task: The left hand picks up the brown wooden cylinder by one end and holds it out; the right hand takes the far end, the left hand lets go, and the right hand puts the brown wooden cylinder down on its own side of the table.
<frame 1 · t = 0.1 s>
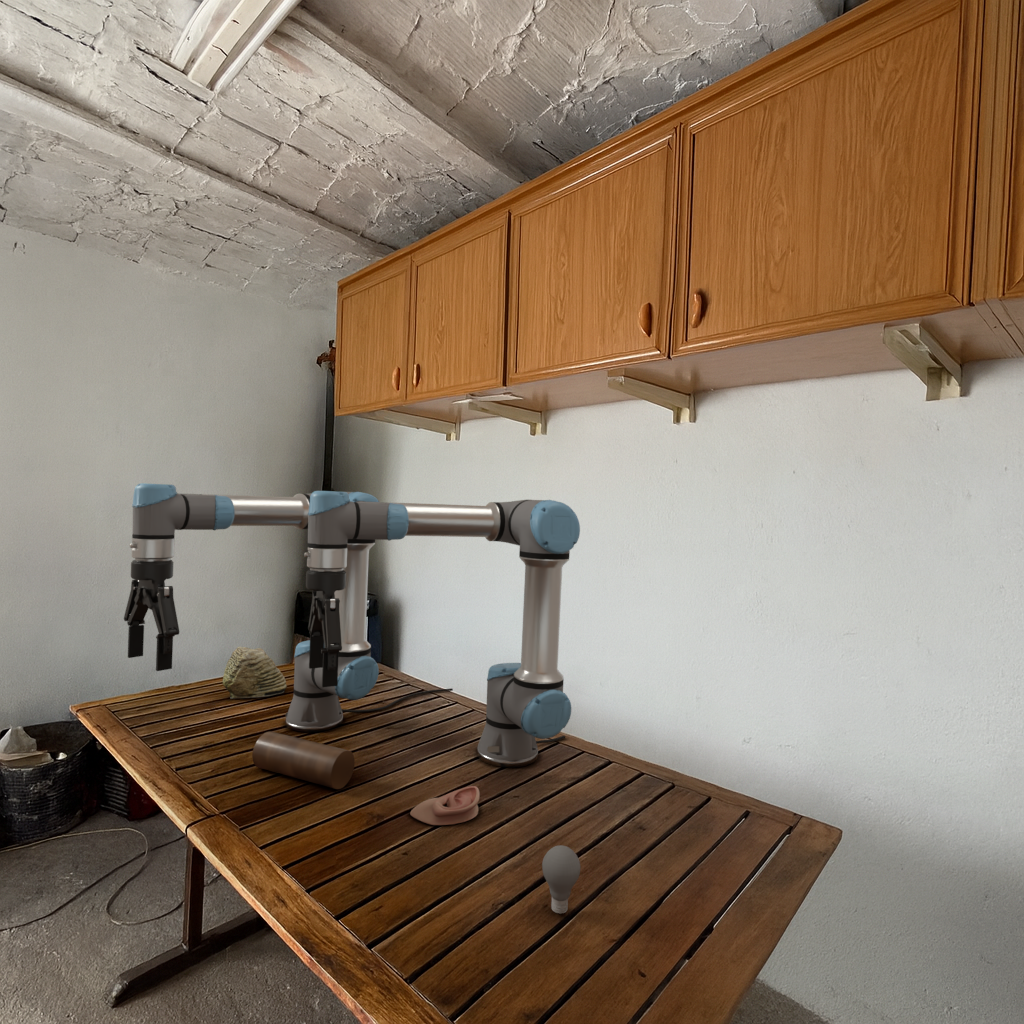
left hand: (149, 663, 129), 28 cm above the table, tool pointing down, fingers open, 13 cm apart
right hand: (322, 676, 125), 28 cm above the table, tool pointing down, fingers open, 13 cm apart
light bulb: (559, 912, 100), on the table
brown wooden cylinder: (302, 777, 143), on the table
fossil: (254, 694, 198), on the table
anatomical model: (445, 813, 129), on the table
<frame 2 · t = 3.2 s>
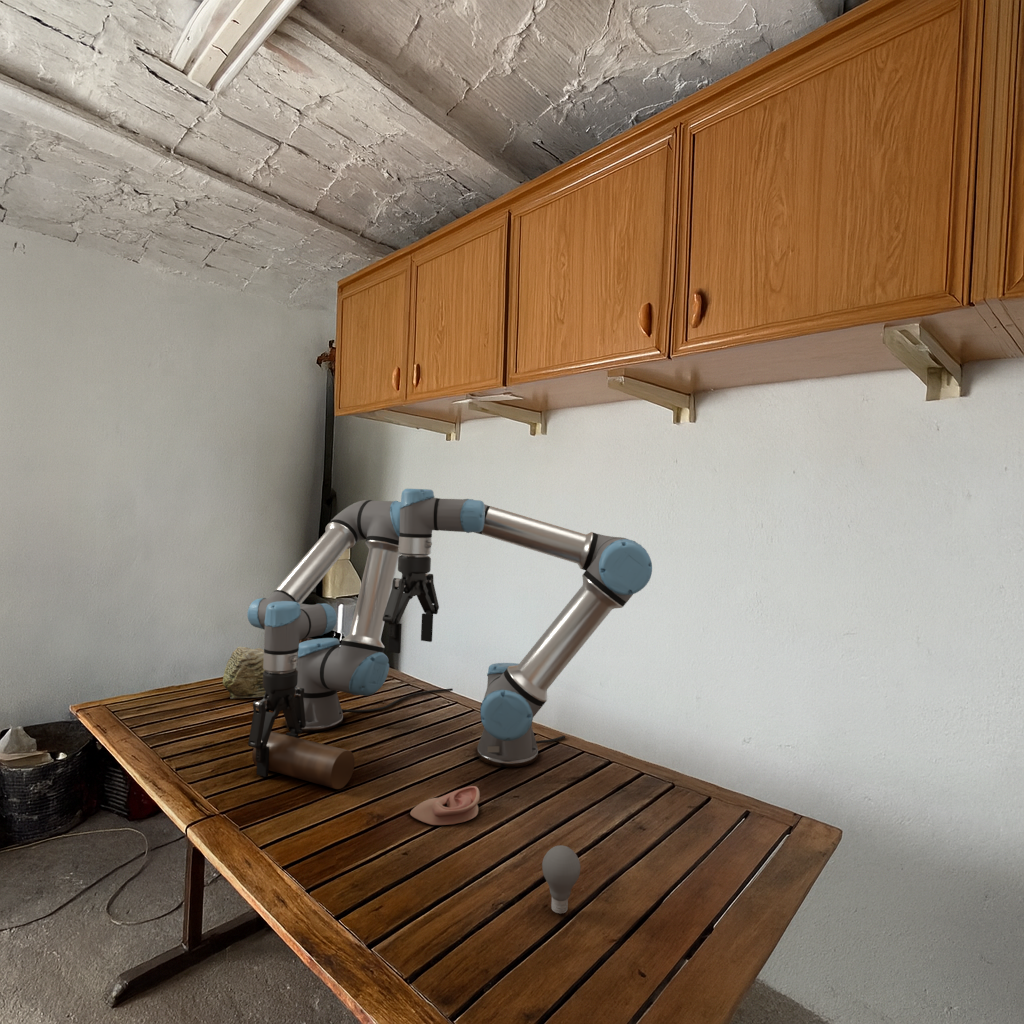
left hand: (276, 767, 146), 0 cm above the table, tool pointing down, fingers closed on brown wooden cylinder, 8 cm apart
right hand: (411, 646, 147), 29 cm above the table, tool pointing down, fingers open, 13 cm apart
brown wooden cylinder: (302, 777, 143), on the table, touching left hand
everything else where it was.
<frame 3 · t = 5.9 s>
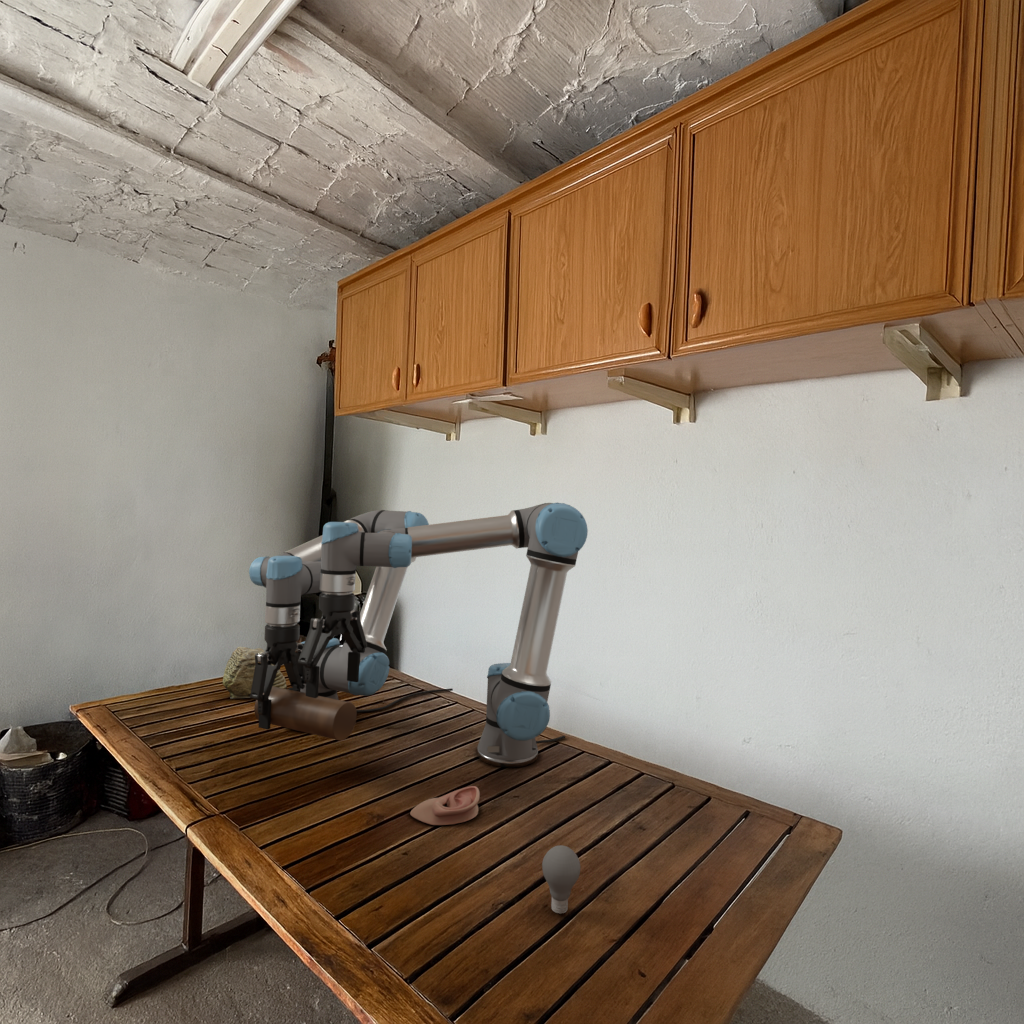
left hand: (278, 721, 146), 11 cm above the table, tool pointing down, fingers closed on brown wooden cylinder, 8 cm apart
right hand: (333, 688, 139), 21 cm above the table, tool pointing down, fingers open, 13 cm apart
brown wooden cylinder: (304, 730, 143), point 11 cm above the table, touching left hand
everything else where it was.
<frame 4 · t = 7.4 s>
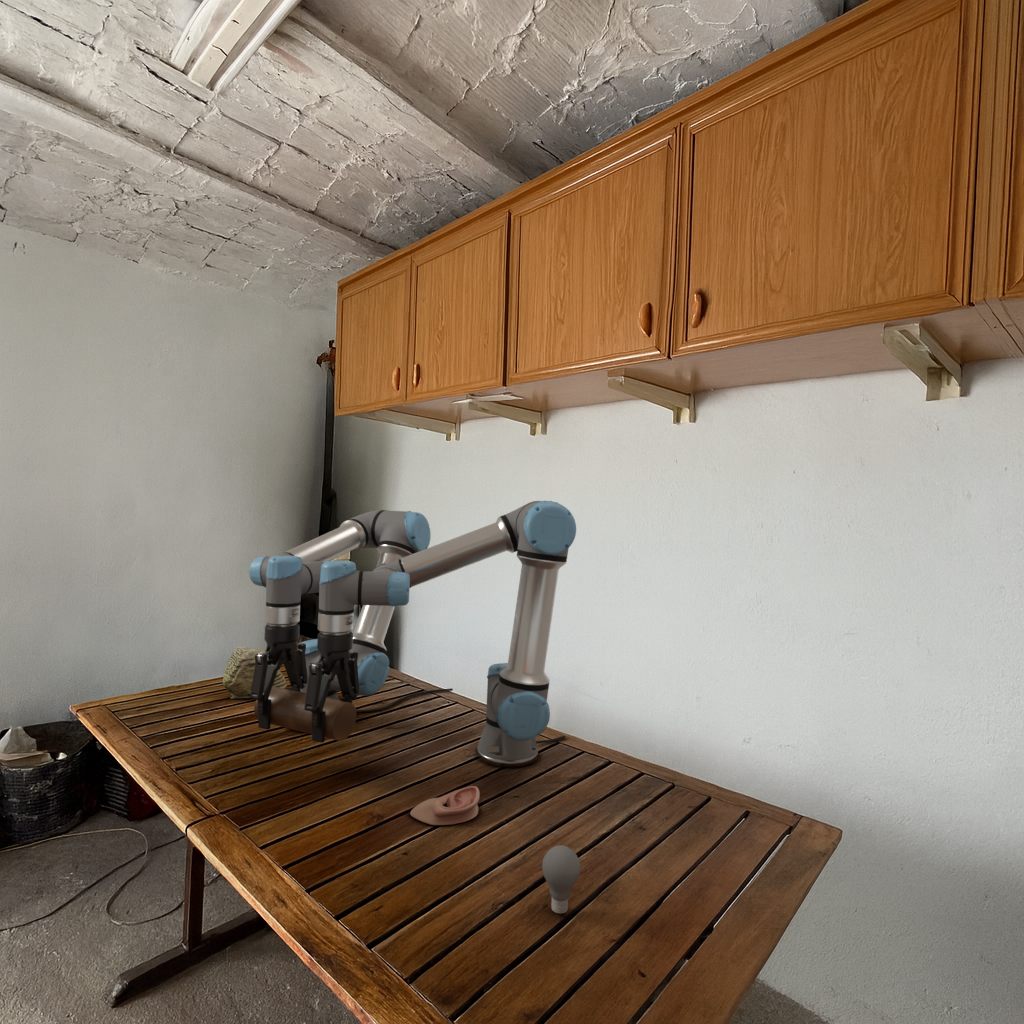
left hand: (278, 721, 146), 11 cm above the table, tool pointing down, fingers closed on brown wooden cylinder, 8 cm apart
right hand: (331, 734, 139), 11 cm above the table, tool pointing down, fingers closed on brown wooden cylinder, 8 cm apart
brown wooden cylinder: (304, 730, 143), point 11 cm above the table, touching left hand, right hand
everything else where it was.
when the left hand's fingers open (11 cm above the table, at t = 8.5 s): brown wooden cylinder stays where it is, held by the right hand.
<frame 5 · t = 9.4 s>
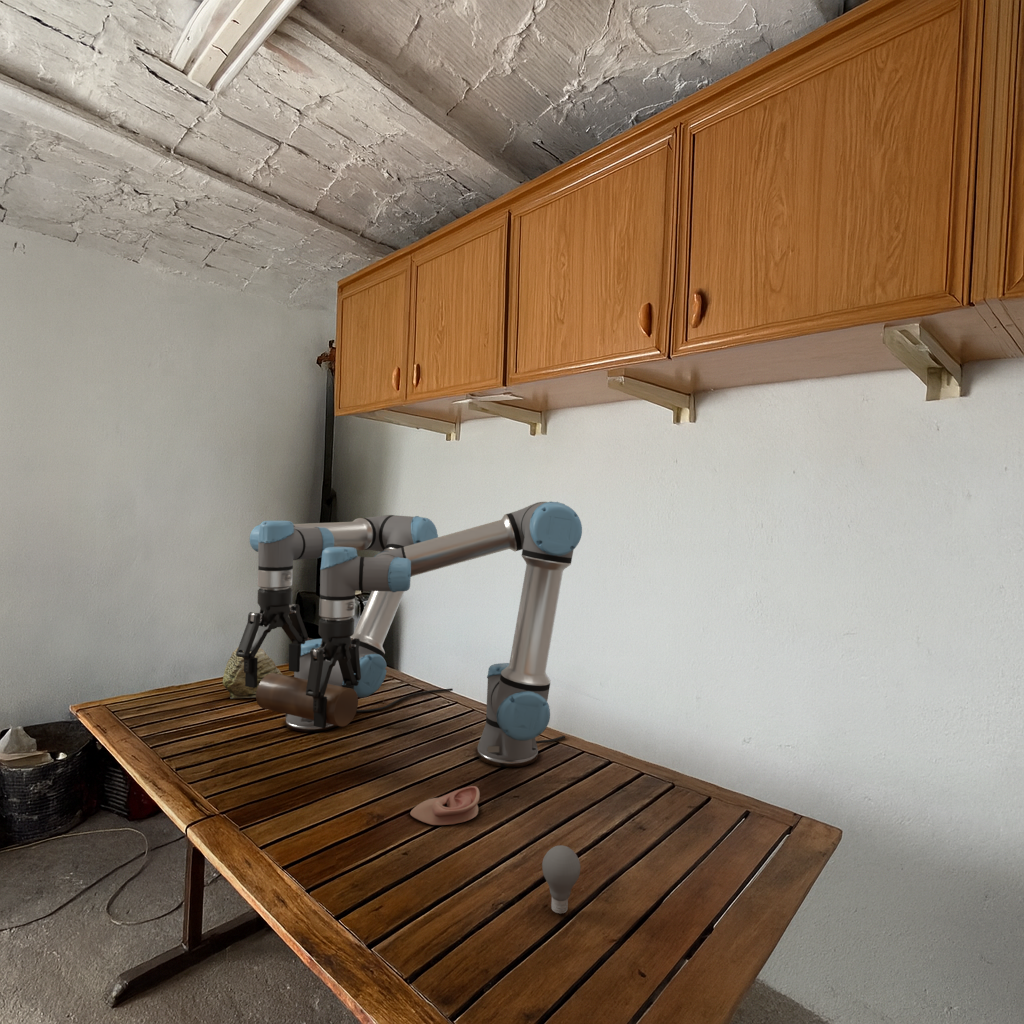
left hand: (273, 678, 147), 21 cm above the table, tool pointing down, fingers open, 13 cm apart
right hand: (333, 720, 139), 14 cm above the table, tool pointing down, fingers closed on brown wooden cylinder, 8 cm apart
brown wooden cylinder: (306, 716, 142), point 14 cm above the table, touching right hand
everything else where it was.
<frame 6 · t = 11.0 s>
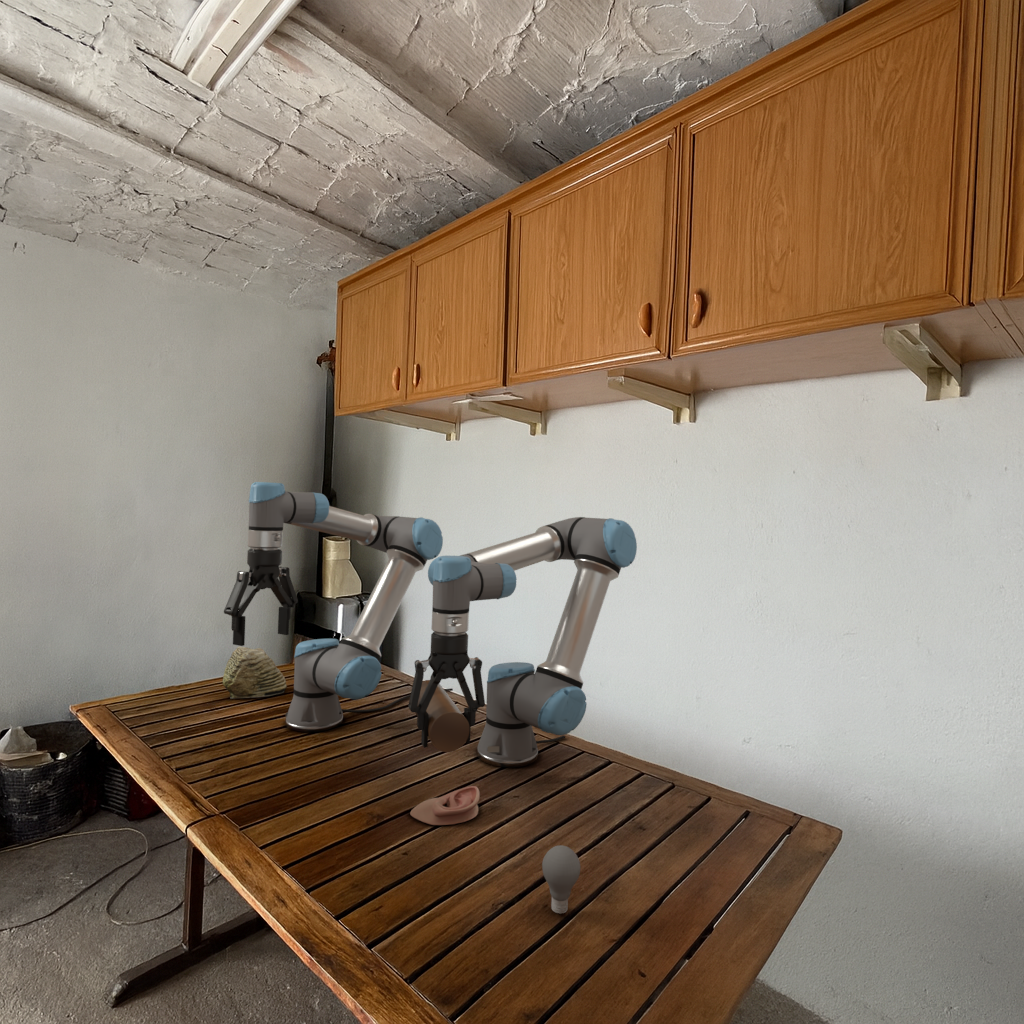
left hand: (261, 639, 148), 29 cm above the table, tool pointing down, fingers open, 13 cm apart
right hand: (445, 742, 129), 14 cm above the table, tool pointing down, fingers closed on brown wooden cylinder, 8 cm apart
brown wooden cylinder: (437, 731, 136), point 14 cm above the table, touching right hand
everything else where it was.
when the right hand's fingers open (2 cm above the table, at t = 14.5 s): brown wooden cylinder drops 1 cm, on the table.
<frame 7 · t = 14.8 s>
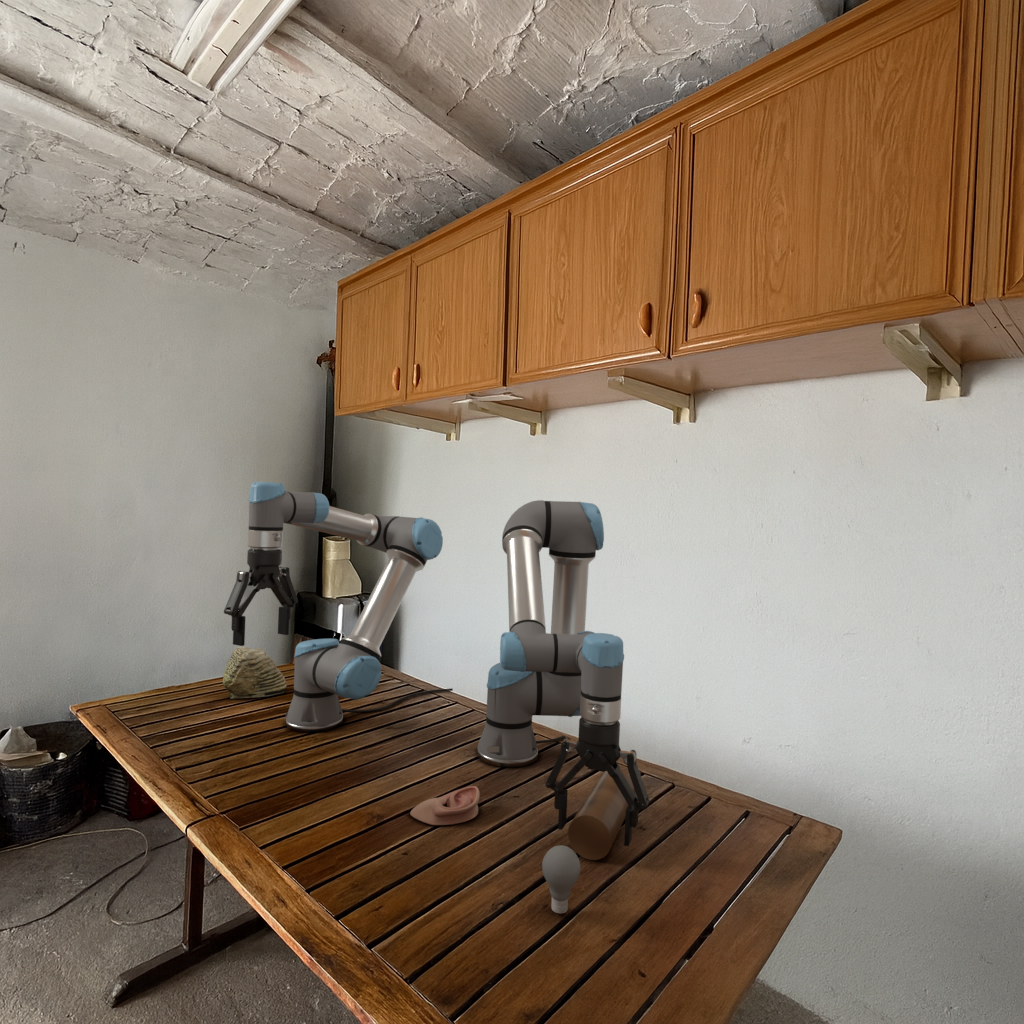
left hand: (261, 639, 148), 29 cm above the table, tool pointing down, fingers open, 13 cm apart
right hand: (594, 834, 118), 3 cm above the table, tool pointing down, fingers open, 12 cm apart
brown wooden cylinder: (603, 831, 125), on the table
everything else where it was.
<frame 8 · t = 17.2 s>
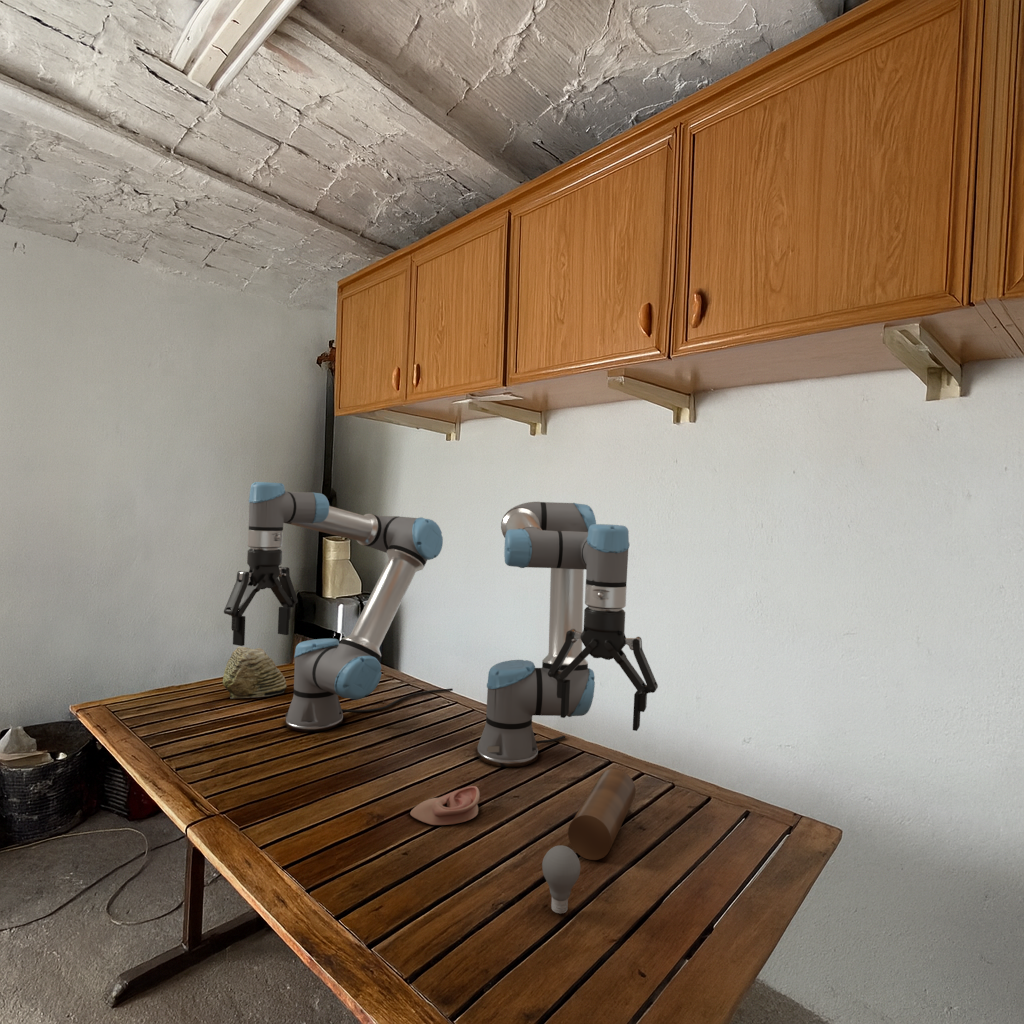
left hand: (261, 639, 148), 29 cm above the table, tool pointing down, fingers open, 13 cm apart
right hand: (599, 722, 117), 24 cm above the table, tool pointing down, fingers open, 13 cm apart
nothing on the table moved.
at the end: brown wooden cylinder inside the target area (7.5 cm from its centre), on the table; the left hand is holding nothing; the right hand is holding nothing; brown wooden cylinder at rest at the end (0.0 cm/s) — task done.
